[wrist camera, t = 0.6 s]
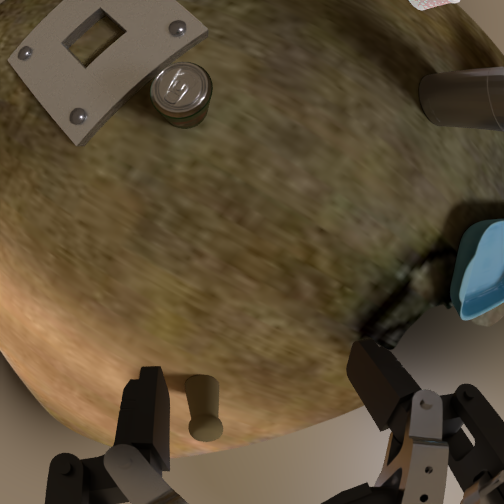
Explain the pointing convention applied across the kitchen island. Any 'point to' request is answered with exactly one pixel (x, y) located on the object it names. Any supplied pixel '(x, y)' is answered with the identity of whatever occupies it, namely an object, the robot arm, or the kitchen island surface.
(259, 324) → the kitchen island surface
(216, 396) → the cork
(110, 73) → the socket plate
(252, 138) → the kitchen island surface
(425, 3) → the beverage cup
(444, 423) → the robot arm
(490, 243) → the casserole dish
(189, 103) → the soda can
